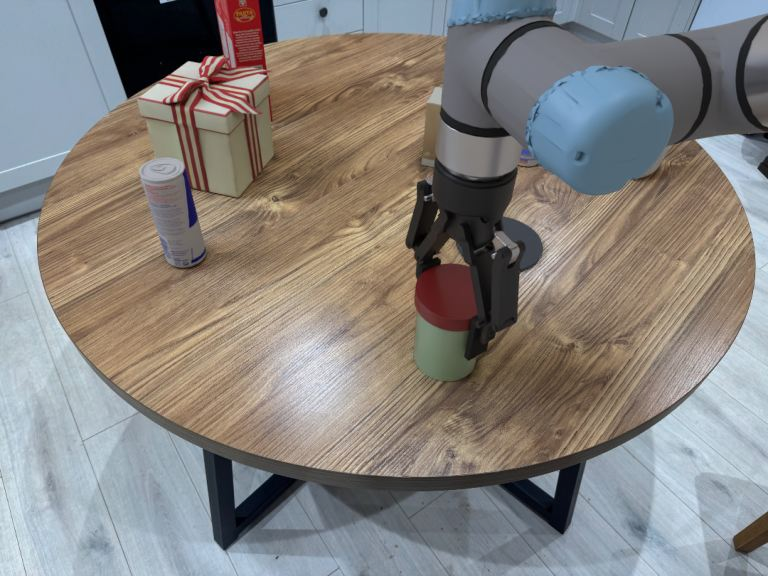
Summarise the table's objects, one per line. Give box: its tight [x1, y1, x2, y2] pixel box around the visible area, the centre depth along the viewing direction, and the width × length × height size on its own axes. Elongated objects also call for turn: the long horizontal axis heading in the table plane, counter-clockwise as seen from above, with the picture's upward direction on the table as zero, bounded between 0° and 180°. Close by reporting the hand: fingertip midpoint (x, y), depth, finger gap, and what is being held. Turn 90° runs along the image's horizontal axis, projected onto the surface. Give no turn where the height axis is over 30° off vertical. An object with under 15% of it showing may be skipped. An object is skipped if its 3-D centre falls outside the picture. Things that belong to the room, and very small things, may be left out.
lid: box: [413, 262, 478, 332], centre depth 63 cm, size 9×9×2 cm
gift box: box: [136, 55, 275, 199], centre depth 93 cm, size 17×18×17 cm
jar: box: [412, 311, 478, 382], centre depth 67 cm, size 8×8×11 cm
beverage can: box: [138, 158, 207, 269], centre depth 77 cm, size 6×6×15 cm
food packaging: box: [213, 0, 274, 122], centre depth 106 cm, size 15×5×25 cm, turn 23°
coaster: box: [455, 215, 544, 273], centre depth 86 cm, size 13×13×1 cm
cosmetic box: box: [421, 86, 442, 168], centre depth 99 cm, size 6×4×12 cm
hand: (449, 326), depth 67 cm, fingers closed on lid, 9 cm apart
